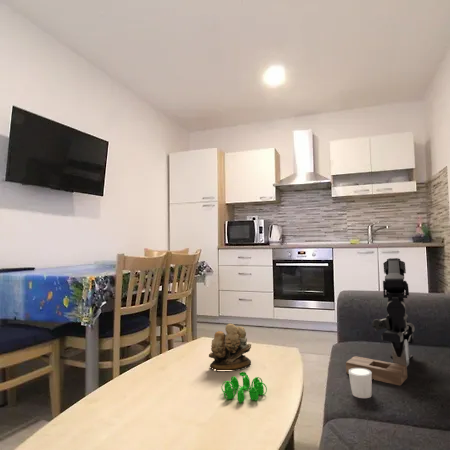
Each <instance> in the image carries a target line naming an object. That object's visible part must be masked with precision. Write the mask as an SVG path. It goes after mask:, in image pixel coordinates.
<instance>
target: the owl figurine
mask: <svg viewBox="0 0 450 450" xmlns="http://www.w3.org/2000/svg"><path fill="white" fill-rule="evenodd" d="M225 332H226V333H225ZM225 332H223V331H221V330H218V331H216V332H215V333H214V337H213V339H211V345H210V347H211V348H210V349H211V350H210V351H211V352H210V353H209V354H208V357H209V358H211V359H214V360H213V361H211V363H210V364H209V368H210V367H211V368H213V369H216V370H235V371H237V370H236V369H240V370H243V369H242V368H244V369H246V368H248V367H249V366H251V364H252V360H251V359H249V358H248V357H247V356H246V355H244V354H246V353H248V352H250V351H251V349H252V343H247V342H248V337H247V332H246V329H245V327H243V326H241V325H240V326H236V325H235V324H234V323H228V324H226V326H225ZM245 367H246V368H245Z"/></svg>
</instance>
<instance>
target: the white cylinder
mask: <svg viewBox="0 0 450 450" xmlns="http://www.w3.org/2000/svg"><path fill="white" fill-rule="evenodd" d="M348 376H349V383H350V389H351V394H352V396H353V397H355V398H359V399H369V398H371V397H372V385H373V383H372V380H373V379H372V372H371V371H370V370H368V369H364V368H352V369H350V370H349V374H348Z"/></svg>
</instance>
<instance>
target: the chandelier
mask: <svg viewBox="0 0 450 450" xmlns="http://www.w3.org/2000/svg"><path fill="white" fill-rule="evenodd" d="M238 373H239V374H238V375H239V376H240V377H242V385H240V383H239V381H238V378H237V377H236V376H234V375H233V376H231V378H230V381H229V380H225V381H223V382H222V384H221V391H222V393H223V397H224V399H226V400H227V401H229V400H232V399H234V398H235V397H236V395H237V397H236V398H237V402H238V403H239V404H242V403H243V402H245V391H247V392H248V393H249V396H250V398H249V399H250V400H252V401H254V402H257V401H259V395H260V396H265V395H266V394H267V392H268V388H267V385H266V384H265V383H264V382H263V379H262V378H261V377H259V376H256V377H254V378H253V379H252V381H251V380H250V377H249V376H248V374H247V372H246V371H241V372H238ZM250 381H251V382H250ZM223 385H224V389H223ZM264 387H265V391H264ZM225 393H226V394H225ZM228 399H229V400H228Z"/></svg>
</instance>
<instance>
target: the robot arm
mask: <svg viewBox="0 0 450 450" xmlns="http://www.w3.org/2000/svg"><path fill="white" fill-rule="evenodd" d="M382 266H383V274H385V276H384V280H382V286H383V287H382V291H383V293H382V294H383V298H384V299H387V305H386V312H387V315H386V316H385V318H382V319H381V318H376V319H373V321H372V323H371V324H372V325H371V327H372V328H374V330H375V332H377V331H378V332H379V331H380V330H385V329H386V330H385V331H383V332H382V333H381V341H385V342H388V343H391V345H392V344H393V347H394V349H395V352H396V355H397V357H401V355H402V352H403V348H404V345H405V341H406V339H407V344H408V356H409V360H410V359H411V358H412V357H413V354H411V353H410V348H409V344H413V343H414V340H415V339H414V332H415V330H416V329H415V325H414V324H413V323H411V322H409V321H408V320H407V318H409V316H408V315H409V314H407V313H406V312H407V311H406V300H405V299H408V296H410V292H409V291H410V290H409V284H408V283H407V281H406V280H405V274H407V272H406V271H407V270H406V262H405V261H402V260H401V258H399V257H394V258H393V257H391V258H387V259H386V261H384V262H383V265H382ZM403 338H404V339H403ZM390 358H391V359H393V354H391V355H390Z"/></svg>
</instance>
